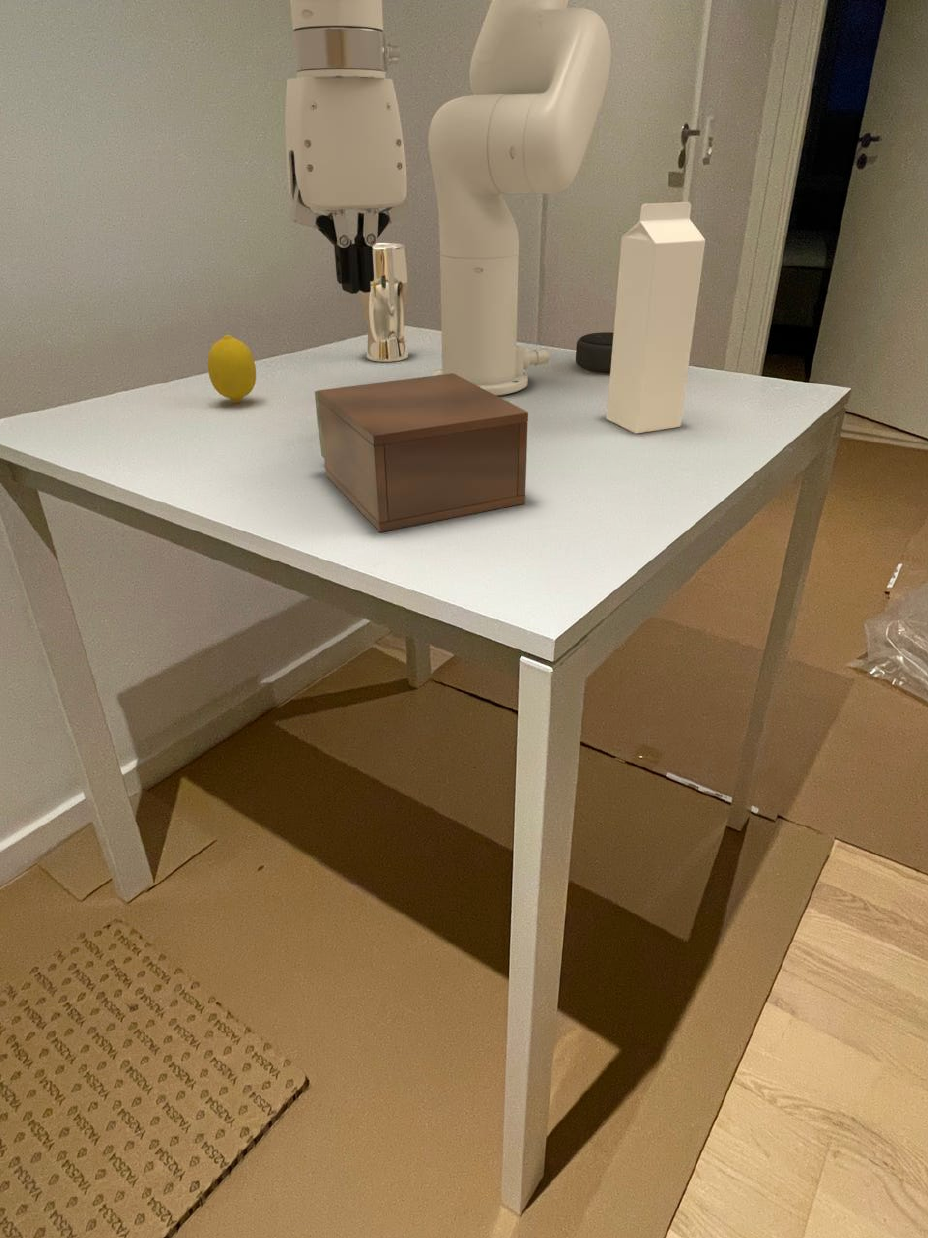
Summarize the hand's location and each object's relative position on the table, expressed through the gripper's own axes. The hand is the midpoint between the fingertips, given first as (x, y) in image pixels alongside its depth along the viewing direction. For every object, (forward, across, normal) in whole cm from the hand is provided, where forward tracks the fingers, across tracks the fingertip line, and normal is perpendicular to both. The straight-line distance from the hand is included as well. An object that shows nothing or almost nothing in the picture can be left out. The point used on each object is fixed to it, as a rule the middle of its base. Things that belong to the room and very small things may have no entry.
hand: (356, 290), depth 78 cm
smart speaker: (+15, -41, -16) cm, 46 cm away
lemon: (+15, +9, -22) cm, 28 cm away
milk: (+15, -30, +8) cm, 35 cm away
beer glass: (+15, -16, -36) cm, 42 cm away
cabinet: (+15, 0, +14) cm, 21 cm away
